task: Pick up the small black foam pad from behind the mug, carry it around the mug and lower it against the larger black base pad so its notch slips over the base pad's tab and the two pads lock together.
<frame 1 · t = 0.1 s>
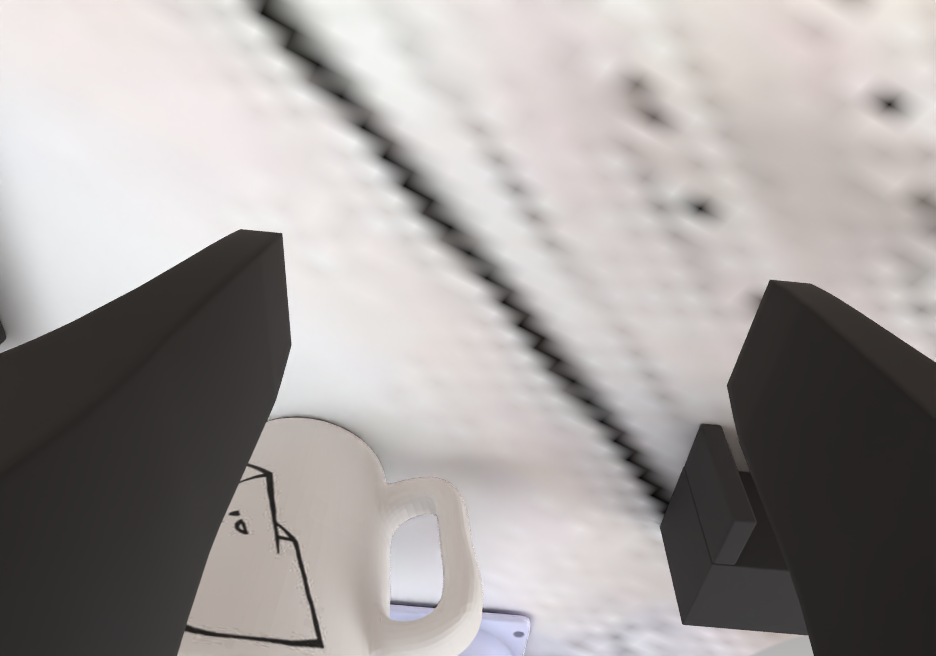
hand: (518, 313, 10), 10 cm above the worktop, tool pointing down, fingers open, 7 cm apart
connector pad: (743, 484, 27), on the worktop
mug: (345, 462, 27), on the worktop
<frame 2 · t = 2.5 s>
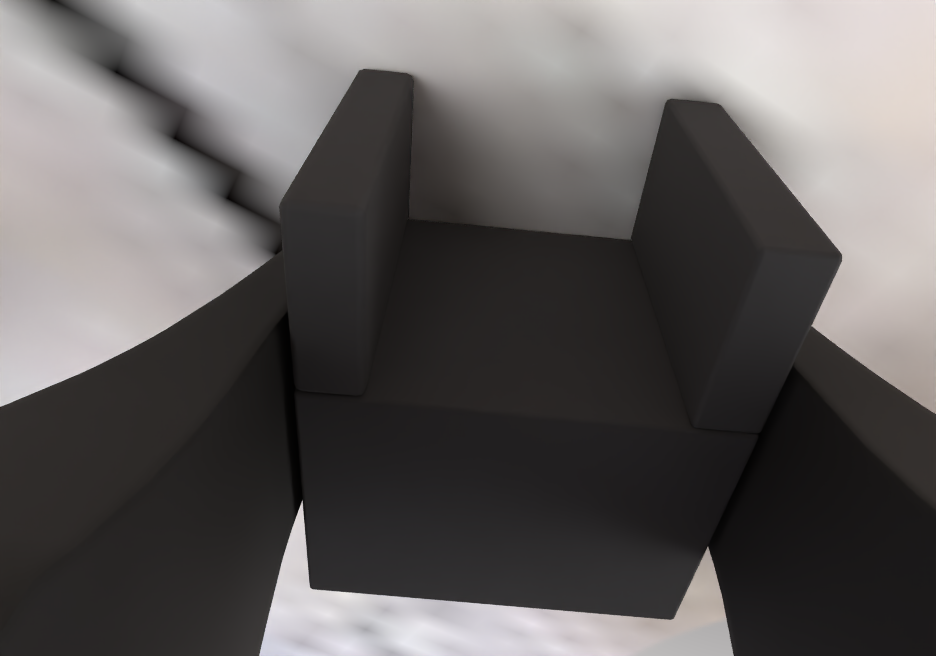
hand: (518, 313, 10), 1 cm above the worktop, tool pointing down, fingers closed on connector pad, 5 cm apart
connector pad: (514, 265, 11), on the worktop, touching gripper
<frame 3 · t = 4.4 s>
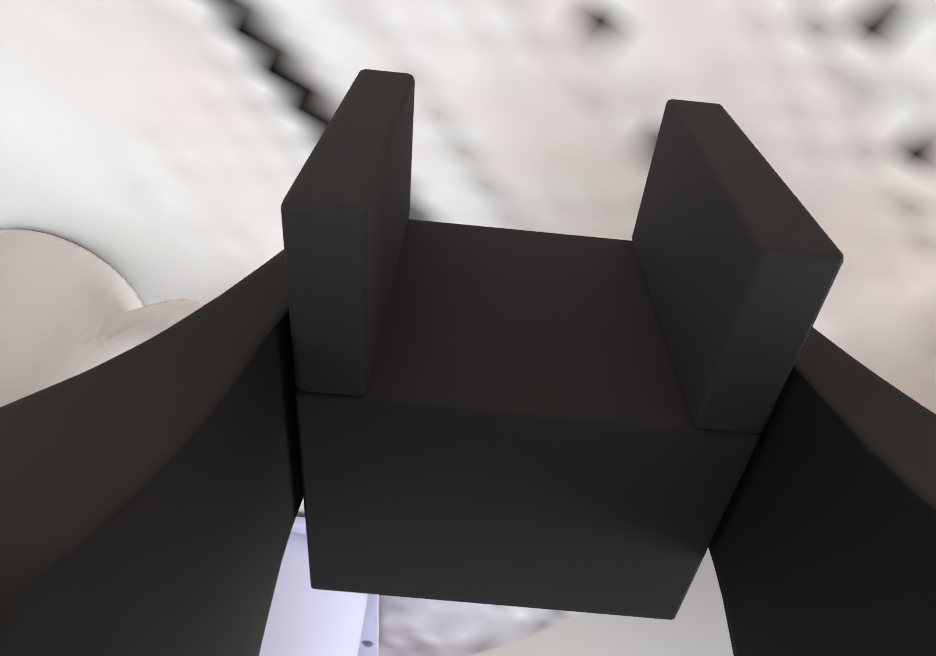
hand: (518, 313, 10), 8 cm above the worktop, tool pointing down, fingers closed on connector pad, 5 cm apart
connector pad: (514, 265, 11), point 7 cm above the worktop, touching gripper
mug: (100, 302, 21), on the worktop
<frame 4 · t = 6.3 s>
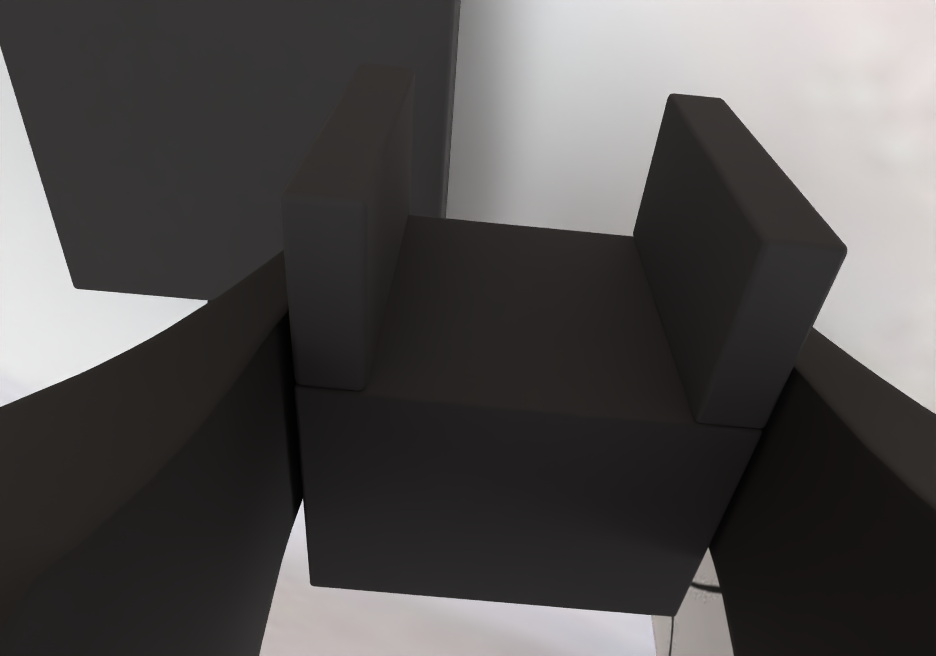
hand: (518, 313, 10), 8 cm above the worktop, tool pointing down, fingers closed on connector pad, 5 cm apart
base pad: (269, 66, 17), on the worktop
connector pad: (515, 261, 11), point 7 cm above the worktop, touching gripper
mug: (784, 419, 23), on the worktop
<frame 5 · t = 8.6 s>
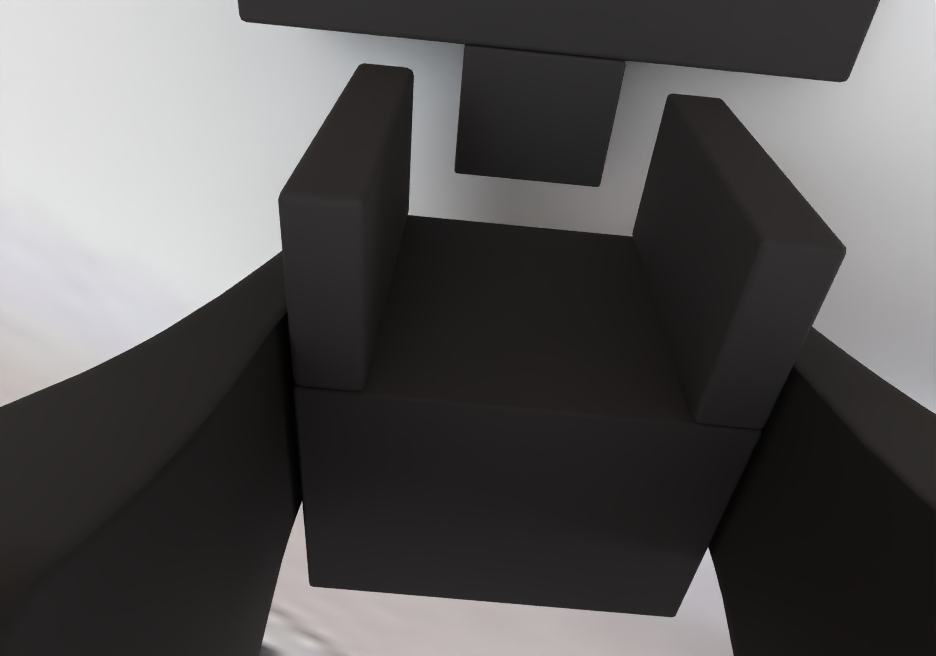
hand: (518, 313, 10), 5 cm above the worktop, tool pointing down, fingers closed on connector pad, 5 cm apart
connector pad: (514, 261, 11), point 4 cm above the worktop, touching gripper
when the fingers open (1 cm above the worktop, at t = 10.2 s): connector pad stays where it is, on the worktop.
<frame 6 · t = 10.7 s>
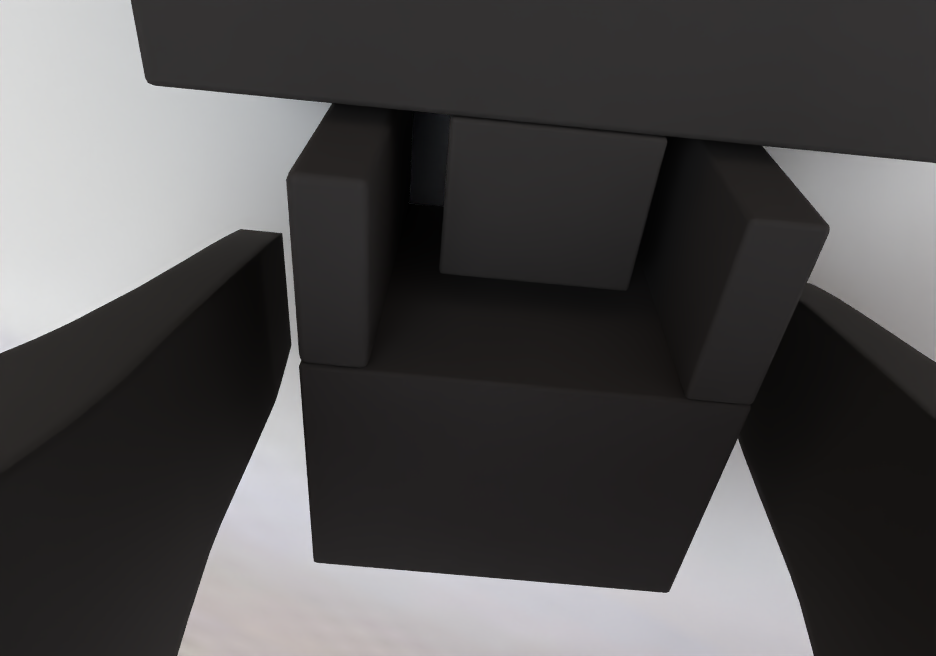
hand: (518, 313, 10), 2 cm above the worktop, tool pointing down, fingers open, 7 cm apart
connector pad: (513, 249, 12), on the worktop
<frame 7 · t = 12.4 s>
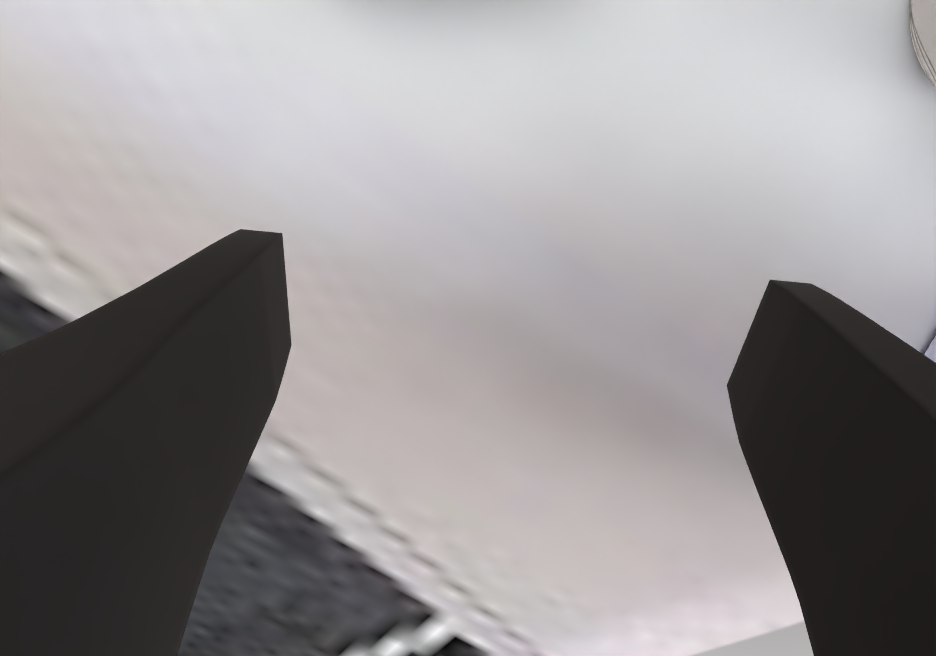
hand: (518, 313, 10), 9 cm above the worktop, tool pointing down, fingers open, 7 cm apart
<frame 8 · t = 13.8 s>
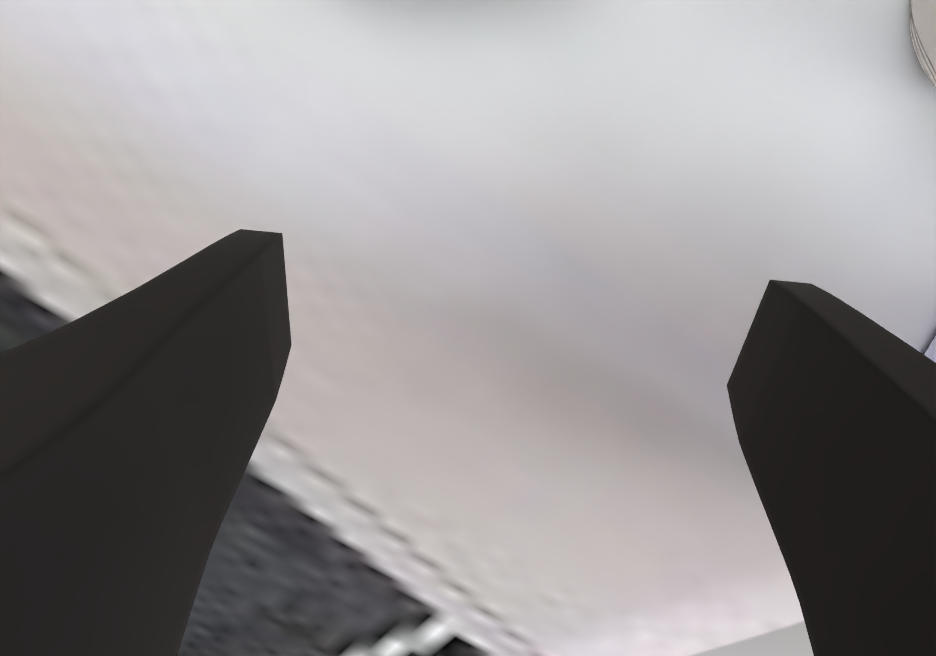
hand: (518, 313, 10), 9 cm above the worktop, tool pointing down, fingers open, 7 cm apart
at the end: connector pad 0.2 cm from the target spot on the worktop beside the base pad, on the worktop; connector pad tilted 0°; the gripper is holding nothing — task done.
